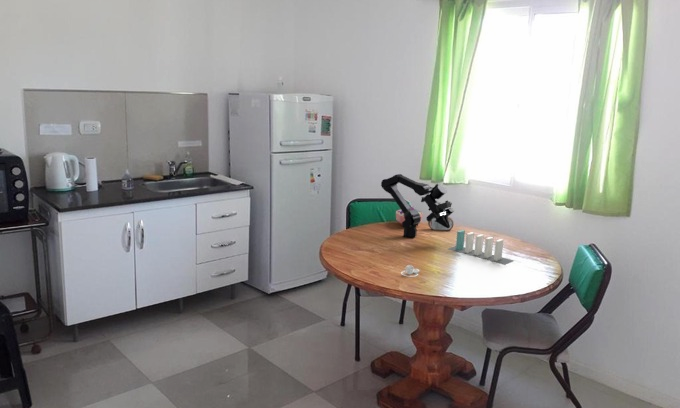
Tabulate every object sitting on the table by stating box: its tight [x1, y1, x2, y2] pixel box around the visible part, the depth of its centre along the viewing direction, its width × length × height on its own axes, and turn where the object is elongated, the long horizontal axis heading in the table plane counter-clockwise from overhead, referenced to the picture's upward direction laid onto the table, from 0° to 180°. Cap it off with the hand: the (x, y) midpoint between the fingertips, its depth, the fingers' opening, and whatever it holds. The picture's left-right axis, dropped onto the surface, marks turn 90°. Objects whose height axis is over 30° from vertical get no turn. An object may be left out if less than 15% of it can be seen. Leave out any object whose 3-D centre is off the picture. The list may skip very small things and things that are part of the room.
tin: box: [427, 216, 454, 232], centre depth 316 cm, size 15×3×8 cm, turn 84°
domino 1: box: [464, 231, 475, 253], centre depth 272 cm, size 2×5×10 cm, turn 136°
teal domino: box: [455, 229, 466, 251], centre depth 276 cm, size 2×5×10 cm, turn 136°
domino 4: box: [493, 238, 504, 261], centre depth 261 cm, size 2×5×10 cm, turn 136°
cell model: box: [395, 206, 424, 225], centre depth 323 cm, size 17×20×11 cm
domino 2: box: [474, 234, 485, 255], centre depth 269 cm, size 2×5×10 cm, turn 136°
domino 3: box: [483, 236, 494, 258], centre depth 265 cm, size 2×5×10 cm, turn 135°
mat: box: [447, 245, 515, 266], centre depth 269 cm, size 33×10×1 cm, turn 46°
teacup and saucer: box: [400, 264, 420, 278], centre depth 239 cm, size 9×8×4 cm
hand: (448, 227), depth 280 cm, fingers closed
